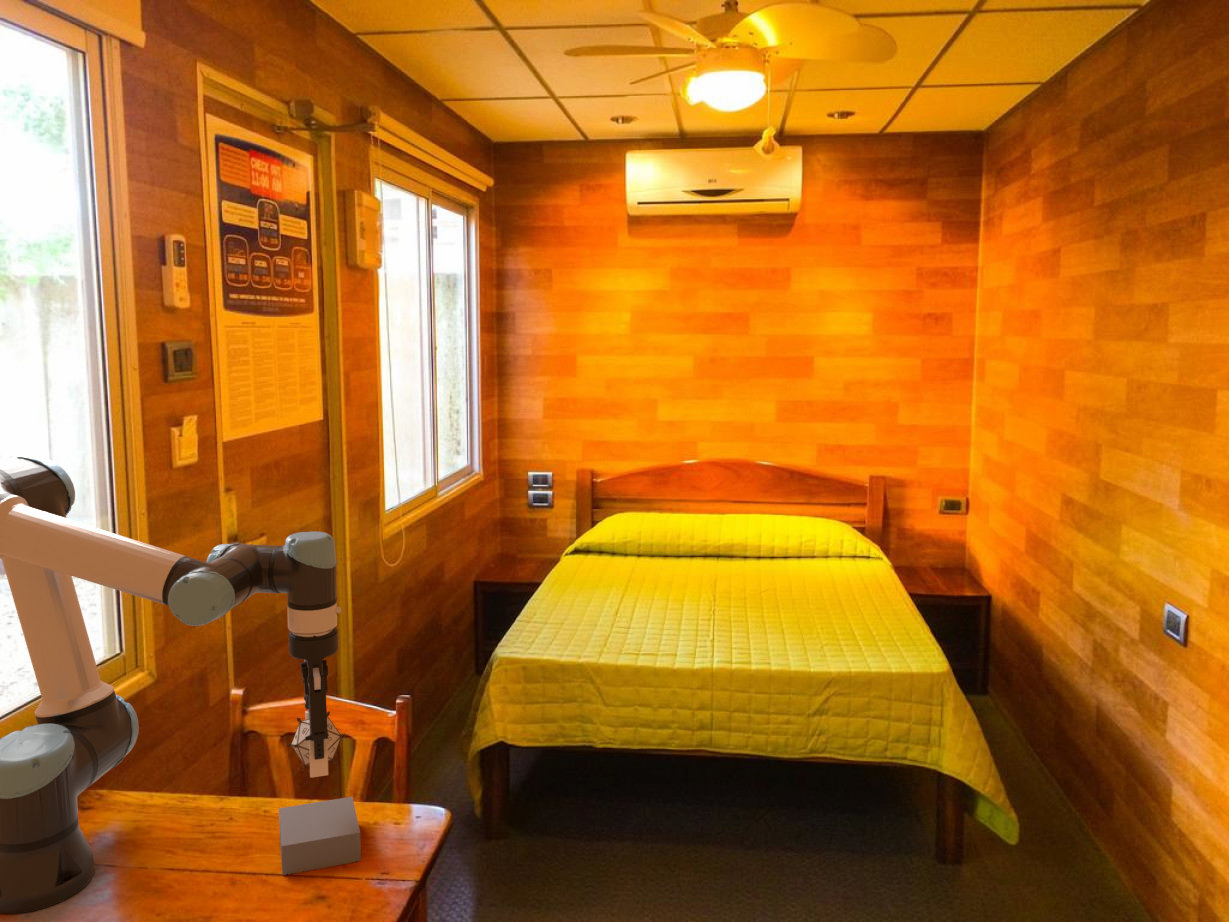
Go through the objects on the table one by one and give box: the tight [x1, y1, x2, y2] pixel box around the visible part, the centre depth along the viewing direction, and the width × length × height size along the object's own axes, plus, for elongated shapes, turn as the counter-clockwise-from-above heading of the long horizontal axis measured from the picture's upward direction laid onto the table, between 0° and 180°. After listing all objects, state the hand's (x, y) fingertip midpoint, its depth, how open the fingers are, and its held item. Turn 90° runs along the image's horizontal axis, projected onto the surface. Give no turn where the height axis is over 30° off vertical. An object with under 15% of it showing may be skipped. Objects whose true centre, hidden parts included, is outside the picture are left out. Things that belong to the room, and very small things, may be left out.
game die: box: [286, 710, 347, 772], centre depth 152 cm, size 9×8×10 cm
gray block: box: [278, 796, 362, 876], centre depth 154 cm, size 12×12×5 cm
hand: (316, 761), depth 152 cm, fingers closed on game die, 9 cm apart
